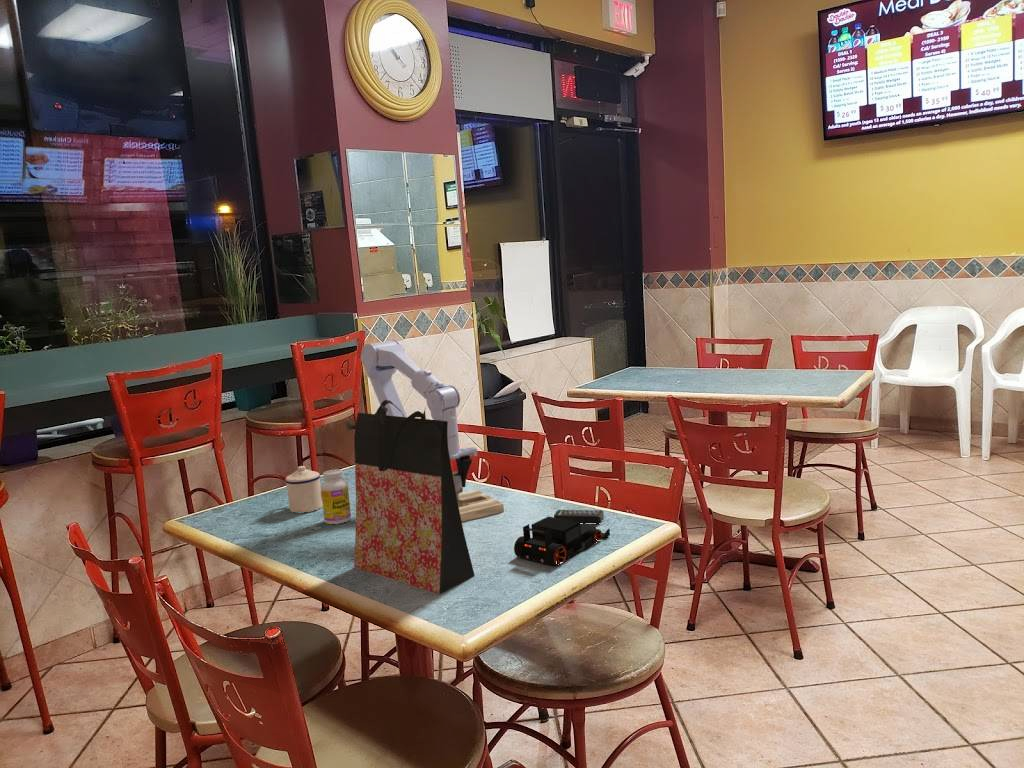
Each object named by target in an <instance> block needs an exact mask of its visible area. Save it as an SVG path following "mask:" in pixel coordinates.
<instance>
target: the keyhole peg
mask: <svg viewBox="0 0 1024 768" xmlns="http://www.w3.org/2000/svg"><path fill="white" fill-rule="evenodd" d="M452 474H453V480H454V485H455V491H456V496H457V501H459V495H458V494H459V493H464V487H463V486H462V476H461V473H460V472H458V471H452Z"/></svg>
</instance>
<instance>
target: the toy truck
mask: <svg viewBox="0 0 1024 768" xmlns="http://www.w3.org/2000/svg"><path fill="white" fill-rule="evenodd" d="M522 532H523V533H522V534H523V535H520V536H519V537H518V538H517V539H516V541H515V543H514V546H513V553H514V555H515V556H516V557H517V558H521V559H525V560H529V561H533V562H537V563H540V564H545V565H548V564H549V566H552V565H554V566H553V567H556V566H557V565H558V564H560V562H564V561H565V562H566V560H568V559H569V558H571V557H574V556H575V555H577V554H578V553H581V552H582V551H584V550H586V549H587V548H589V547H591V546H593V544H592V543H596V542H597V540H601V541H602V539H603V538H604V539H606V538H608V537H609V536H611V533H610V528H608V529H606V531H605V532H602V530H601V529H599V528H597V526H594V525H590V524H585V523H583V524H580V522H575V521H570V520H565V519H560V518H555V517H554V516H546V517H545V518H541V519H540V520H537V521H536V522H534V523H532V524H531V527H530V524H527V525H524V526H523V527H522ZM596 539H597V540H596ZM597 543H598V542H597ZM556 561H557V564H556ZM565 562H564V563H565ZM557 567H558V566H557Z"/></svg>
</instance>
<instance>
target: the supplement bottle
mask: <svg viewBox="0 0 1024 768" xmlns="http://www.w3.org/2000/svg"><path fill="white" fill-rule="evenodd" d="M322 476H323V479H324V481H323V482H322V483H320V486H321V495H322V504H323V506H322V511H323V512H322V513H323V520H324V522H325V524H328V525H332V524H335V525H340V523H341V524H344V522H345V523H347V522H349V521H351V519H352V513H351V503H350V494H349V486H348V482H347V480H346V479H343V470H342V469H339V468H338V469H336V468H334V469H329V470H325V471H323V473H322Z"/></svg>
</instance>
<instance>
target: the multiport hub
mask: <svg viewBox="0 0 1024 768" xmlns="http://www.w3.org/2000/svg"><path fill="white" fill-rule="evenodd" d="M604 516H605V515H604V510H597V509H590V510H589V509H558V510H557V511H556V512H555V513H554V515H553V517H555V518H560V519H565V520H570V521H575V522H580V523H596V524H595V525H597V524H599V523H601V522H602V523H603V521H604V518H605V517H604ZM602 520H603V521H602ZM602 523H601V524H602ZM599 525H600V524H599Z"/></svg>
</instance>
